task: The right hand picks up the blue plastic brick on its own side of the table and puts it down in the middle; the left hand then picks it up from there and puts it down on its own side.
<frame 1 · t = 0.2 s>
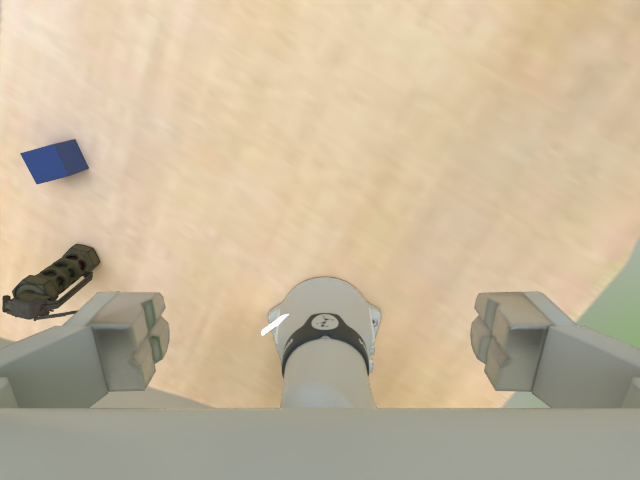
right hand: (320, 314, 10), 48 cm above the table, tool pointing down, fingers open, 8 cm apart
brick: (67, 158, 56), on the table
grenade: (91, 263, 62), on the table
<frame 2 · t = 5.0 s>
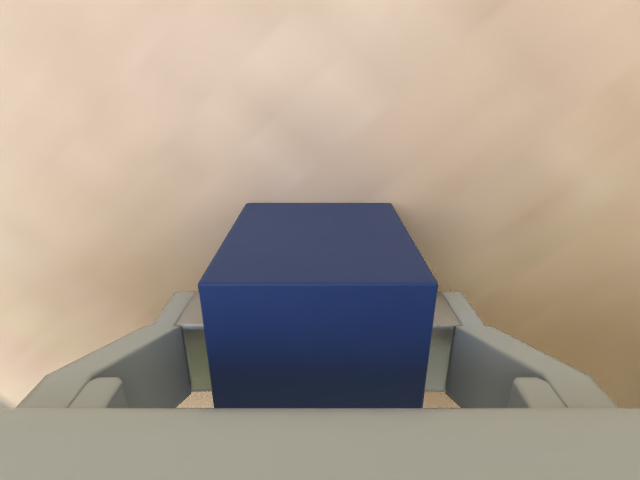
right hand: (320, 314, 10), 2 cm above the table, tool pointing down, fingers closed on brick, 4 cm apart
brick: (318, 275, 12), on the table, touching right hand
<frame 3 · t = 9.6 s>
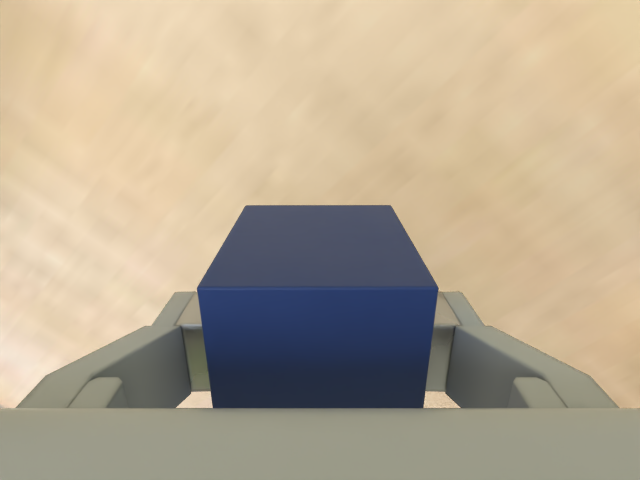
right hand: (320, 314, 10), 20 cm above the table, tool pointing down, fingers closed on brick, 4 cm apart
brick: (318, 277, 12), point 18 cm above the table, touching right hand
when the right hand's fingers open (3 cm above the table, at t = 14.4 s): brick drops 1 cm, on the table.
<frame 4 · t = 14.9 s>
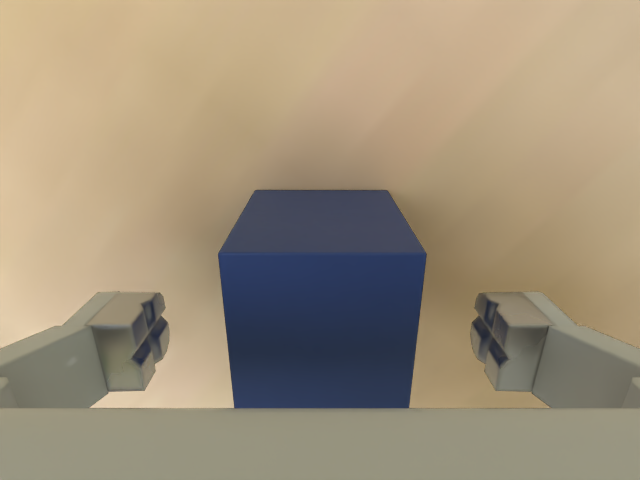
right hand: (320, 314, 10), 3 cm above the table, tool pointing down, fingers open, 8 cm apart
brick: (321, 257, 13), on the table
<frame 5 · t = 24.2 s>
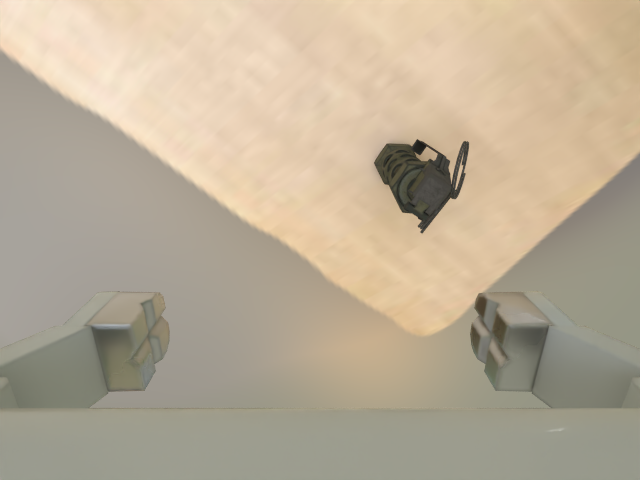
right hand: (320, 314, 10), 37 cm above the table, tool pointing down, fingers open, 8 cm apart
grenade: (405, 158, 46), on the table
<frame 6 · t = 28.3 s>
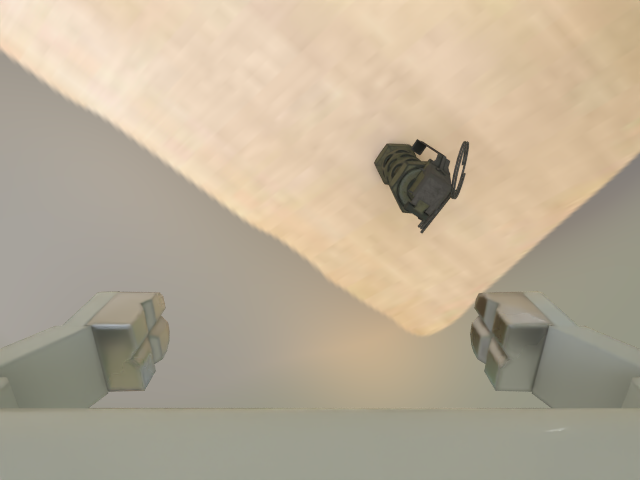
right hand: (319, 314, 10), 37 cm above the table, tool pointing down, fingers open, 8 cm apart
grenade: (405, 158, 46), on the table
when the left hand's fingers open (1 cm above the table, at t = 32.5 s): brick stays where it is, on the table.
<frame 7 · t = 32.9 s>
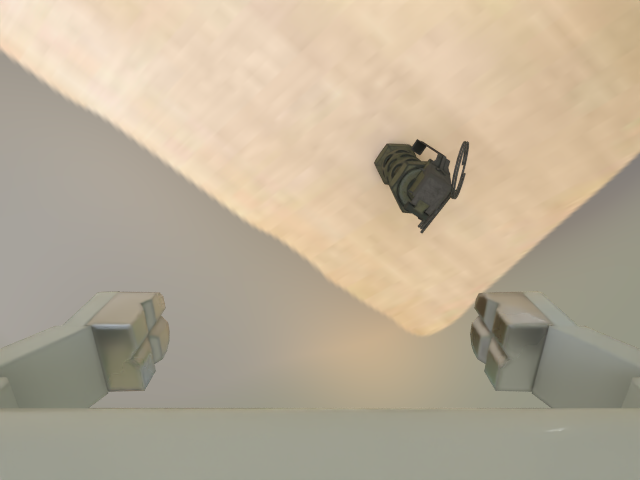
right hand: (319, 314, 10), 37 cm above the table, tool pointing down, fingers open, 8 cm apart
grenade: (405, 158, 46), on the table
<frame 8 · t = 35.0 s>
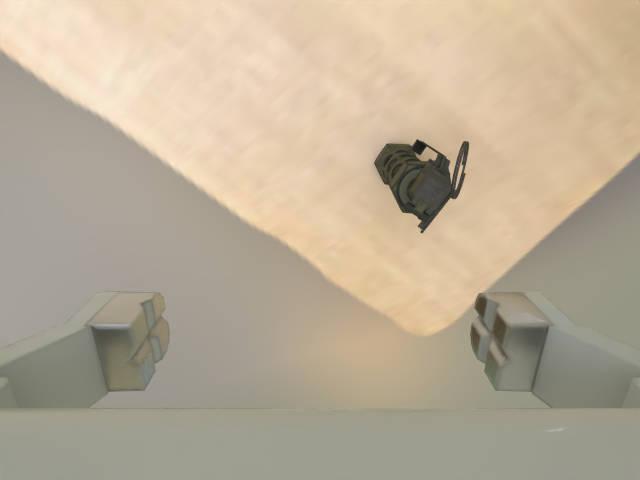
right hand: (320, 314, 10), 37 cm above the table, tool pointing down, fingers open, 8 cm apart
grenade: (405, 158, 46), on the table
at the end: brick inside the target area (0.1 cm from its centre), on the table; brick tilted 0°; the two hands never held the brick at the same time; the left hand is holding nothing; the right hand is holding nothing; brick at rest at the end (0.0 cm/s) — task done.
